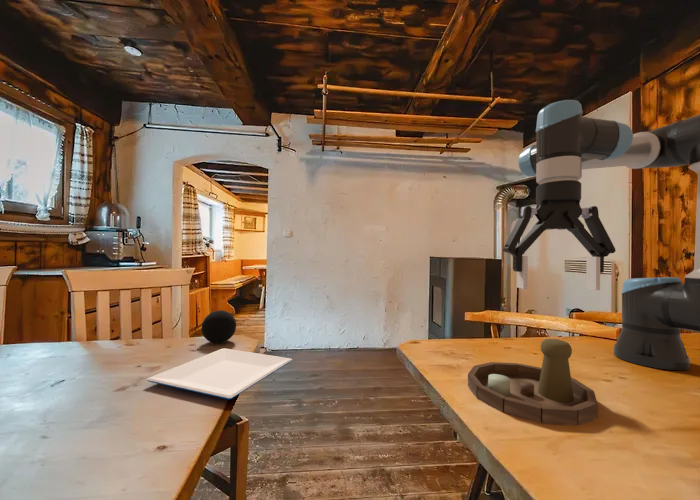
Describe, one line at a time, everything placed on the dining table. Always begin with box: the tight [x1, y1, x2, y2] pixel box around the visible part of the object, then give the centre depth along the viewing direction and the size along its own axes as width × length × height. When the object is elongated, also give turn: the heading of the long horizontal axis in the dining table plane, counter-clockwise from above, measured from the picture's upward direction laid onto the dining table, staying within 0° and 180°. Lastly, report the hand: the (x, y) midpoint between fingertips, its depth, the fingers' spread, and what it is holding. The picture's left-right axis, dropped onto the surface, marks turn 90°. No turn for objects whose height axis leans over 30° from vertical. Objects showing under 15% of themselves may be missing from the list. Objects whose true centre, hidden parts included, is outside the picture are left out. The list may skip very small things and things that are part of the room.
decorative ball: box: [201, 310, 237, 344], centre depth 96 cm, size 10×10×10 cm
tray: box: [467, 361, 598, 426], centre depth 62 cm, size 22×22×3 cm
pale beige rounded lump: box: [488, 374, 510, 397], centre depth 62 cm, size 4×4×3 cm
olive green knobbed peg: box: [538, 338, 574, 402], centre depth 61 cm, size 6×6×11 cm
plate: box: [146, 347, 293, 400], centre depth 71 cm, size 22×22×2 cm
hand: (557, 289), depth 61 cm, fingers open, 13 cm apart
